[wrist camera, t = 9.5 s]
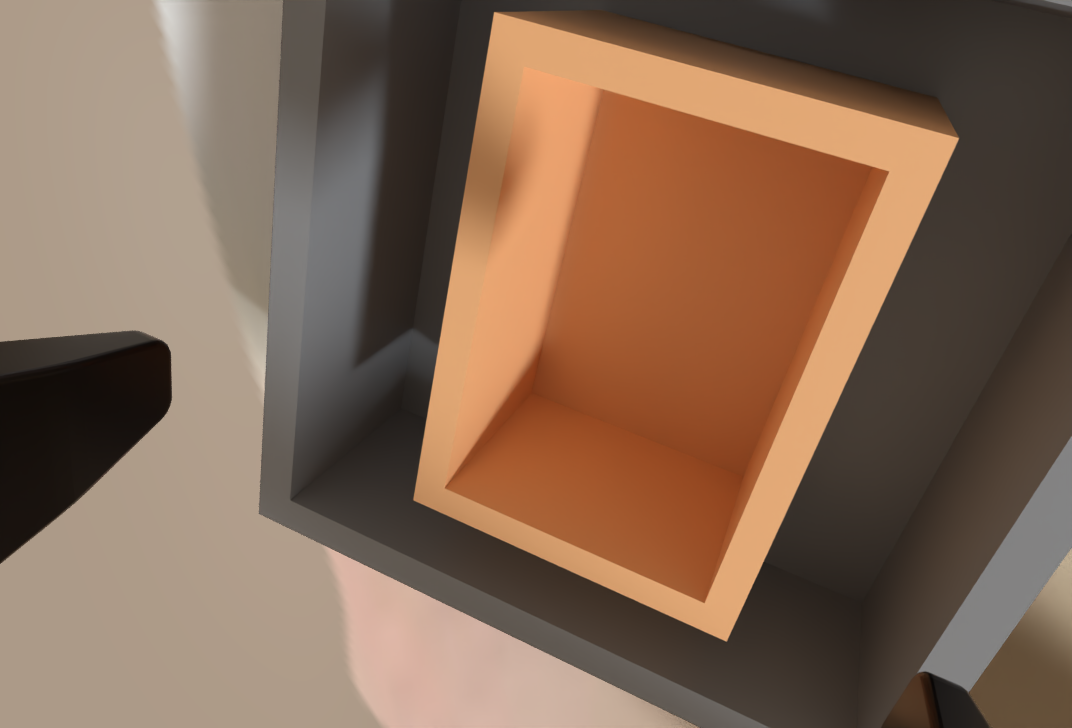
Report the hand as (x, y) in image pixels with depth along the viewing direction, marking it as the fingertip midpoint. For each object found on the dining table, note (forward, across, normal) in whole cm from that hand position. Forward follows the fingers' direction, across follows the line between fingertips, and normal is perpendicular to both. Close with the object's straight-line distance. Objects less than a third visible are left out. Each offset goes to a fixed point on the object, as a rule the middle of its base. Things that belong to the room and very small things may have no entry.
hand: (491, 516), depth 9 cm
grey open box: (+10, 0, 0) cm, 11 cm away
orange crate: (+10, 0, 0) cm, 10 cm away
